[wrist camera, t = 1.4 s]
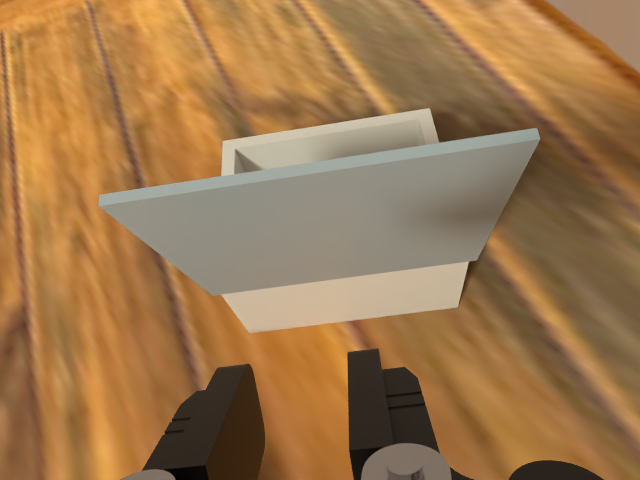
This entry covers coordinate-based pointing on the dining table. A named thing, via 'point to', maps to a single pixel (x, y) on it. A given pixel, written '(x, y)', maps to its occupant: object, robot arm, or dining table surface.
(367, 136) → the storage box
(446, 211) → the lid
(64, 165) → the dining table surface
